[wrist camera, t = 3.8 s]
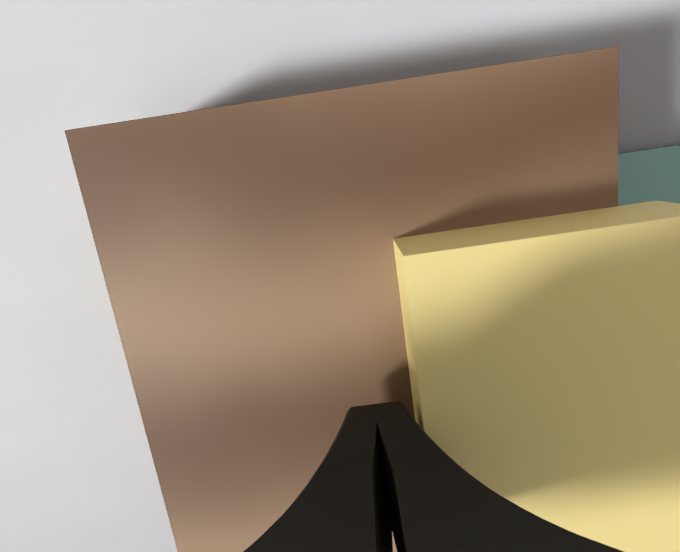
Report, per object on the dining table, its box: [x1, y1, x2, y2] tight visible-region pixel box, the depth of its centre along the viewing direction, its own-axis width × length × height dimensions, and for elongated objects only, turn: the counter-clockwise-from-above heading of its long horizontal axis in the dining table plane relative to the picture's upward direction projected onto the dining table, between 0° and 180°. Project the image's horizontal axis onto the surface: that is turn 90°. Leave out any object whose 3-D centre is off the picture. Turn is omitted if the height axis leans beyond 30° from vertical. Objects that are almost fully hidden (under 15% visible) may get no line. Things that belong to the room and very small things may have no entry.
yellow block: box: [393, 201, 680, 552], centre depth 11 cm, size 9×6×2 cm, turn 8°
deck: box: [65, 46, 618, 552], centre depth 14 cm, size 16×12×4 cm
